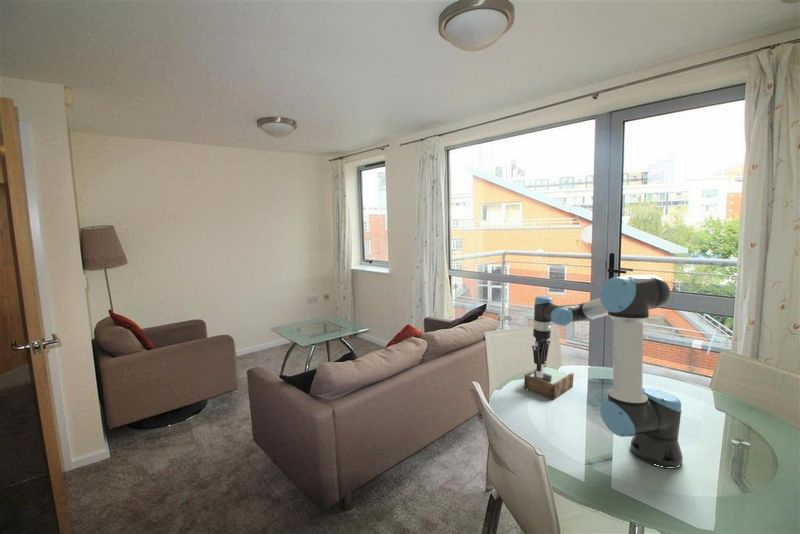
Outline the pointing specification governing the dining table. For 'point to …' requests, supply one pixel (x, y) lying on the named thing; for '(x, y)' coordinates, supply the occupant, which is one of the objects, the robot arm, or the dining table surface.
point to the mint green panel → (551, 375)
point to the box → (548, 385)
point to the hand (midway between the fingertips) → (539, 376)
